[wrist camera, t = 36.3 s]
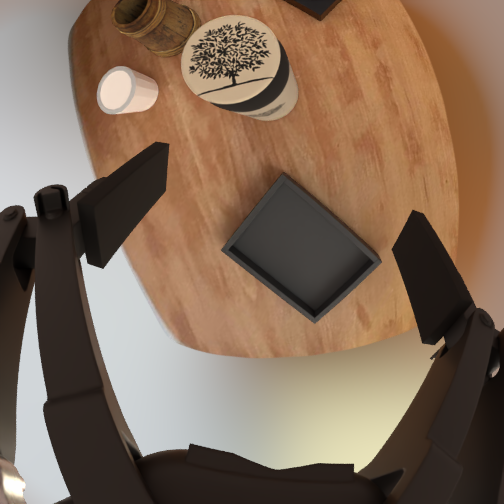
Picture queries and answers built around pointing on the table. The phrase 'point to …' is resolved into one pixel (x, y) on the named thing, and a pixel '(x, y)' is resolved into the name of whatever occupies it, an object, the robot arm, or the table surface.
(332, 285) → the tray
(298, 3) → the control block
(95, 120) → the table surface
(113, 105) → the white cup
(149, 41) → the wooden mug
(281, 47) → the travel mug
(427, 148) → the table surface
